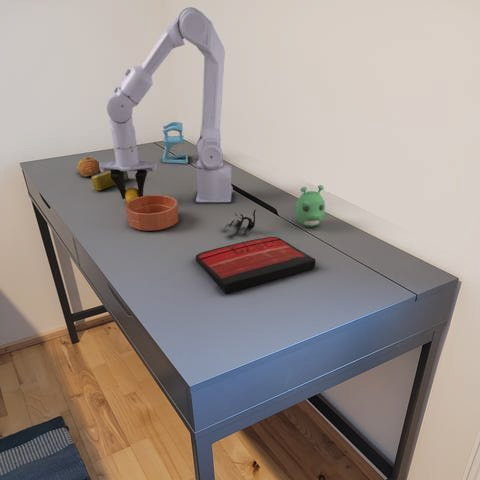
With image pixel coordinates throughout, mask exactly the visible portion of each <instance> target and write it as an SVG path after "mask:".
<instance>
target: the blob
mask: <svg viewBox="0 0 480 480" xmlns="http://www.w3.org/2000/svg"><path fill="white" fill-rule="evenodd" d="M137 197H139V194H138V188H136V187H133V186H130V187H128V188H127V189H126V191H125V199H124V200H125V201H126V204H127V203H128V202H129V201H131V200H132V199H135V198H137Z"/></svg>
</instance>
